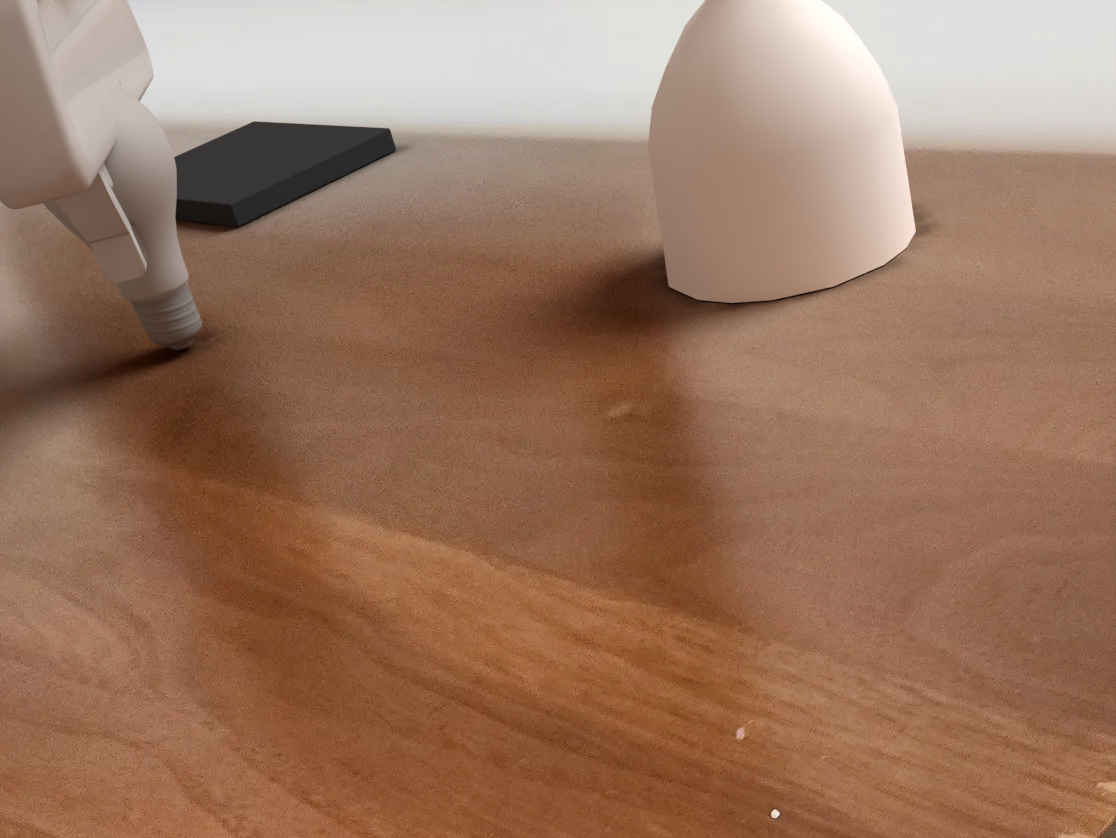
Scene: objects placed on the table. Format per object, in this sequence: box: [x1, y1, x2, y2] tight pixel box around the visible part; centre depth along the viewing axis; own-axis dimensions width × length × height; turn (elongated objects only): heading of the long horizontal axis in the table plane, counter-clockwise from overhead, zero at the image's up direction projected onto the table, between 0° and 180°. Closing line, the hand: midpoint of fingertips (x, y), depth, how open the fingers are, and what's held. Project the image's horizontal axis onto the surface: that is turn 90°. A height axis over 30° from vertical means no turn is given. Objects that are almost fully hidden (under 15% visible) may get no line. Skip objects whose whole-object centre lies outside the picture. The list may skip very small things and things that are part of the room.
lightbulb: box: [43, 87, 203, 351], centre depth 64 cm, size 6×6×11 cm
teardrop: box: [647, 0, 917, 304], centre depth 58 cm, size 11×11×12 cm
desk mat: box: [174, 120, 397, 228], centre depth 86 cm, size 14×12×1 cm
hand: (141, 253), depth 64 cm, fingers closed on lightbulb, 5 cm apart
